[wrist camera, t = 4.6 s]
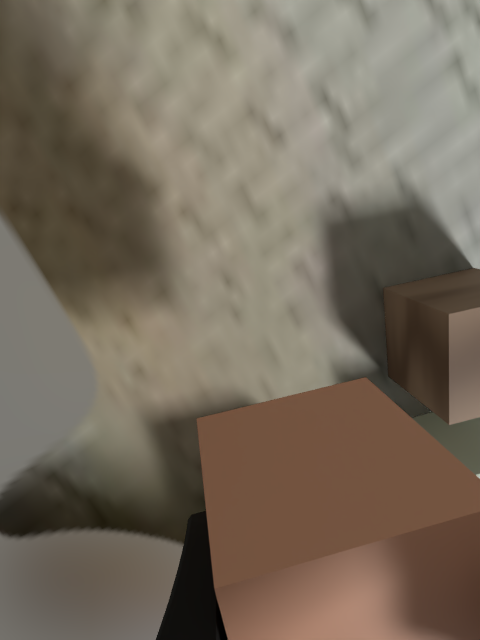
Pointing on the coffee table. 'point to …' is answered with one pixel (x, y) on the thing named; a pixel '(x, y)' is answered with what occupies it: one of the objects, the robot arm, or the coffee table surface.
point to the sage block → (456, 438)
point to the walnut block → (437, 342)
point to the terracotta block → (339, 521)
